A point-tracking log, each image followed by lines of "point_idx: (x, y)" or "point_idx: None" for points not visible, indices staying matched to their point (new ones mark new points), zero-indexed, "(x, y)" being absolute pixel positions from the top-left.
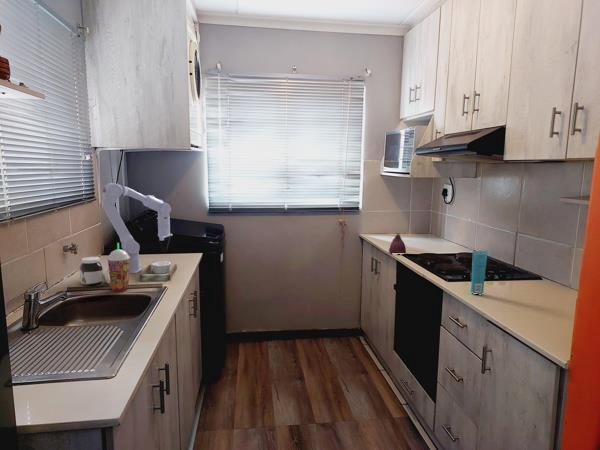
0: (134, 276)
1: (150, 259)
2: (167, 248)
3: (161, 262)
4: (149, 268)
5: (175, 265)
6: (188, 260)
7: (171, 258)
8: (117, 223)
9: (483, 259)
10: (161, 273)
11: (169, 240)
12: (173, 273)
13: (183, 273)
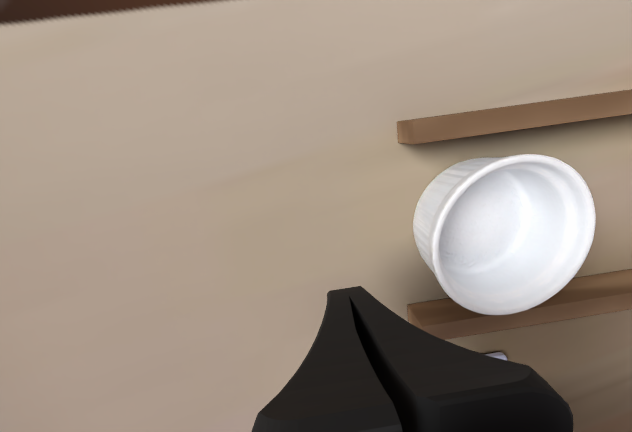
0: (572, 339)
1: (105, 418)
2: (343, 304)
3: (438, 260)
4: None
5: (458, 119)
6: (44, 102)
7: (16, 285)
8: None
9: None
10: (528, 201)
11: (305, 387)
12: (581, 96)
13: (540, 19)
